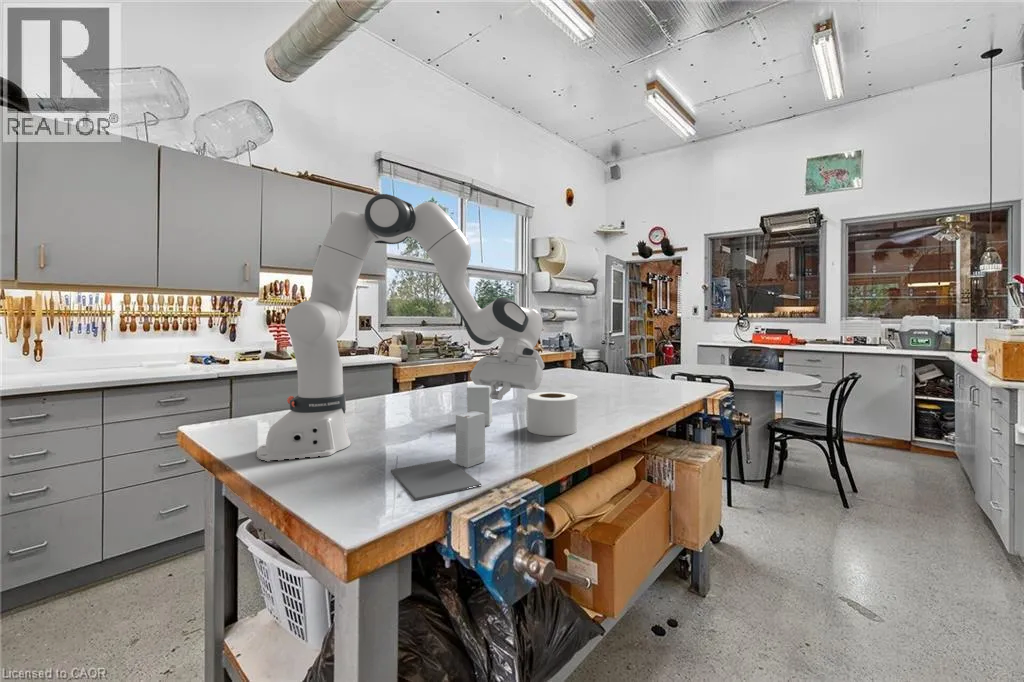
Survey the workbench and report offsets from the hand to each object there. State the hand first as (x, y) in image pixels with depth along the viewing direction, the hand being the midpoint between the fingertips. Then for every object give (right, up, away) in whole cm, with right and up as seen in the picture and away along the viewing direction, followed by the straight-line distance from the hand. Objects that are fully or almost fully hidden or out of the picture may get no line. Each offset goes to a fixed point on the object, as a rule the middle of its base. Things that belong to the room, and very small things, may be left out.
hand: (495, 398), depth 115 cm
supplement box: (-6, -12, +30) cm, 33 cm away
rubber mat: (-13, -15, -18) cm, 27 cm away
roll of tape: (+17, -13, +23) cm, 31 cm away
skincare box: (-5, -15, -9) cm, 18 cm away
